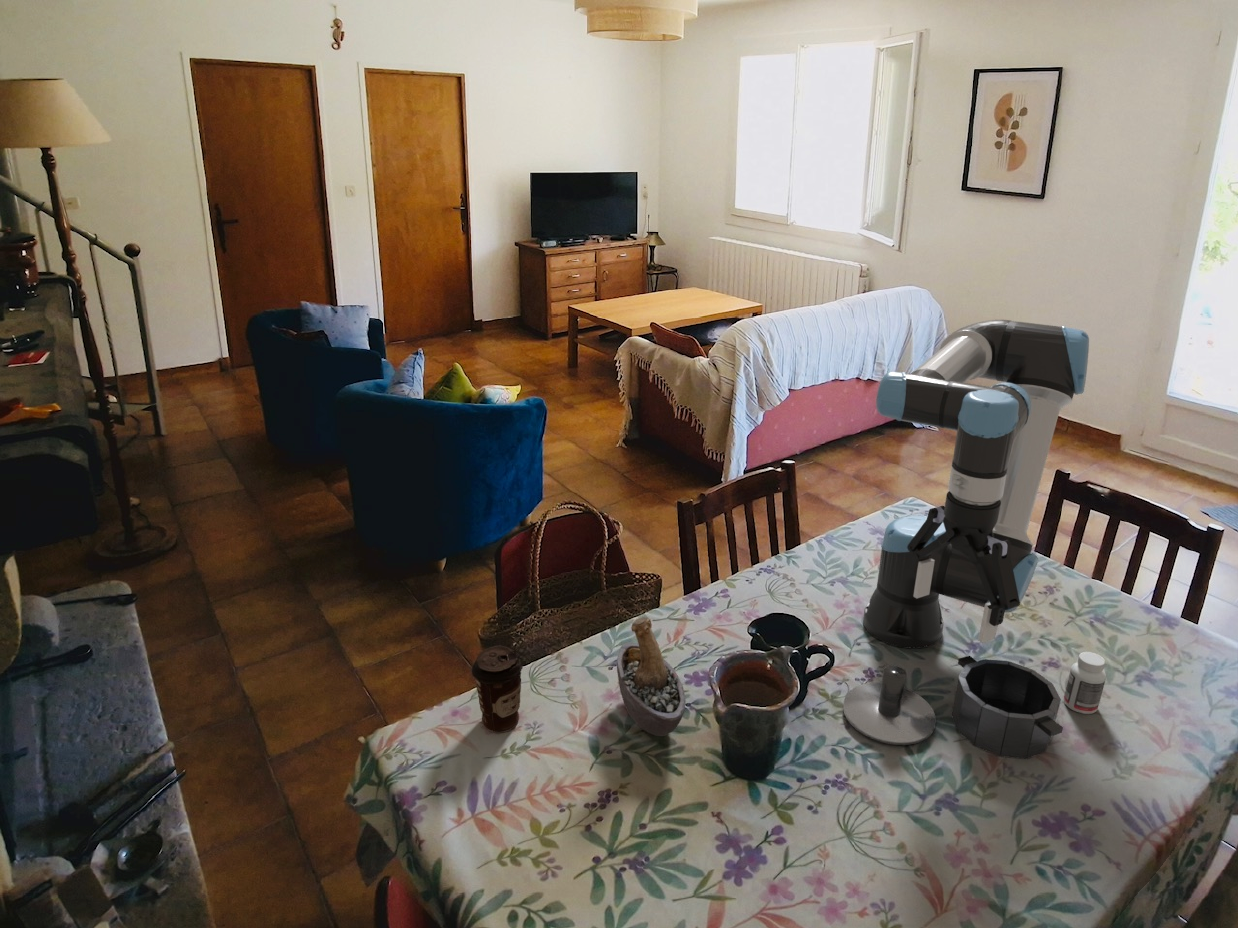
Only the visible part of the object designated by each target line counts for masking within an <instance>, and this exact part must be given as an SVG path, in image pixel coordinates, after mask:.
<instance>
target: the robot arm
mask: <svg viewBox="0 0 1238 928" xmlns="http://www.w3.org/2000/svg"><path fill="white" fill-rule="evenodd" d="M1089 351H1090V338H1089V335H1088V333H1087V332H1086V331H1084V330H1082V329H1077V328H1072V327H1071V328H1070V327H1066V326H1065V325H1061V326H1057V325H1050V324H1042V323H1041V324H1040V323H1033V322H1032V323H1031V322H1024V321H1014V320H1010V319H1009V320H1008V319H990V320H985V321H980V322H975V323H972V324H969V325H966V326H963V327H961V328H959V329H957V330H955V331H953V332H951V333H950V335H948V336H946V338H944V340H943V341H942V343H941V344H940V347H939V349H938V351H937V352H936V353H934V354H933V355H932V356H930V357H929V358H928V359H927V360H925V362H923V363H922V364H920V365H919V366H918V367H917V368H916V369H915V370H913V371H912V372H911V373H907V372H905V371H888V372H886V373H885V374H884V375H883V377H882V379H881V380H880V383H879V386H878V389H877V393H876V402H875V404H876V411H877V412H878V414H879V415H881V416H882V417H886V418H890V419H894V420H896V421H897V422H901V421H902V422H907V423H912V424H919V425H923V426H930V427H934V428H940V429H945V430H948V431H954V432H955V431H956V435H955V436H956V438H955V444H954V451H953V456H952V457H953V458H952V463H951V468H950V473H949V478H948V479H949V480H948V485H947V486H948V488H947V490H948V491H947V493H946V497H945V503H944V505H941V506H937V507H932V508H929V510H928V513H927V515H922V514H921V515H920V514H919V515H907V516H903V517H899V518H896V519H893V520H892V521H891V522H889V524H887V526H886V528H885V531H884V534H883V539H882V541H881V544H880V545H881V551H880V558H879V567H878V575H877V581H876V582H877V583H876V587H875V590H874V592H873V594H871V597H870V598H869V599H870V600H869V602H867V604H866V606H865V608H864V611H863V619H862V622H863V623H862V624H863V626H864V628H865V629H866V630H867V632H868V633H869V634H870V635H872V636H873V637H874V638H876V639H877V640H879V641H881V642H883V643H886V644H888V645H891V646H894V647H899V648H904V649H905V648H906V649H922V648H928V647H931V646H933V645H935V644H937V643H938V642H939V641H940V640H941V638H942V636H943V631H944V619H943V617H942V615H943V614H942V609H941V605H940V600H939V597H940V595H942V596H944V597H948V598H951V599H955V600H957V601H961V602H964V603H969V604H971V605H975V606H978V607H981V608H984V609H983V613H982V619H981V624H980V629H979V632H978V633H979V634H978V638H977V641H979V643H982V644H983V643H986V642H988V641H991V640H994V639H996V636H997V631H998V626H999V625H1001V624H1003V623H1004V622H1003V621H1004V617H1005V613H1013V612H1014V611H1016V610H1017V609H1018V607H1020V605H1021V603H1022V600H1023V599H1024V597H1025V595H1026V593H1027V591H1028V589H1029V587H1030V584H1031V582H1032V580H1033V577H1034V574H1035V571H1036V567H1037V565H1038V562H1039V557H1038V555H1036V554H1035V553H1034V552H1032V549H1033V546H1034V544H1033V542H1032V541H1031V539H1030V537H1029V536H1028V533H1027V532H1028V529H1029V526H1030V523H1031V522H1030V521H1031V519H1032V513H1033V510H1034V507H1035V503H1036V500H1037V496H1038V492H1039V489H1040V486H1041V485H1040V484H1041V481H1042V477H1043V475H1044V470H1045V466H1046V463H1047V459H1048V455H1049V452H1050V448H1051V443H1052V440H1053V437H1054V433H1055V430H1056V426H1057V421H1058V418H1059V414H1060V411H1061V410H1062V409H1063V408H1065V407H1067V406H1069V405H1070V404H1071V403H1072V402H1073V397H1074V395H1082V394H1084V392H1085V387H1086V386H1085V385H1086V380H1087V371H1088V363H1089V353H1090V352H1089ZM977 378H979V379H985V380H986V379H987V380H992V381H997V382H999V383H996V384H993V385H992V386H986V385H979V384H974V383H973V384H972V383H968V382H969V381H972V380H975V379H977ZM1000 382H1001V383H1000Z"/></svg>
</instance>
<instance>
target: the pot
mask: <svg viewBox="0 0 1238 928" xmlns="http://www.w3.org/2000/svg"><path fill="white" fill-rule="evenodd" d="M957 664H958V665H959V666H960V667H962V668H963V669H962V670H961V671H960V674H958V677H957V682H956V689H955V694H954V698H953V704H952V710H951V718H952V721H953V725H954V727H955V730H956V732H958V733H959V734H960V735H961V736H962V737H963V738H965V739H966V741H968V742H969V743H970V744H971V745H972V746H974V747H976V748H978V749H980V750H983V751H986V752H988V753H990V754H992V755H995V756H997V757H1001V758H1009V759H1011V758H1012V759H1022V760H1026V759H1027V760H1028V759H1030V758H1033V757H1035V756H1038V755H1039V756H1040V755H1041V754H1044V753H1046V751H1047V748H1048V747H1049V745H1050V742H1051V740H1052V737H1053V736H1056V735H1059V734H1062V733H1063V730H1064V727H1063V726H1062V725H1060V724H1059V723H1058V722H1057V720H1056V719H1057V717H1058V713H1059V709H1060V705H1061V697H1060V696H1059V695H1060V694H1059V693H1058V691H1057V689H1056V687H1055V686H1054V684H1053V683H1052V682H1051V681H1049V680H1048V679H1047V678H1045V677H1044V676H1043V675H1041V674H1040V673H1038V672H1037V671H1036V670H1034V669H1032V668H1030V667H1027V666H1025V665H1021V664H1017V663H1016V662H1012V661H1009V660H1000V659H999V660H998V659H985V658H984V659H980V660H976V659H975V658H973V657H972V656H971V655H966V656H963V657H960V658H958V660H957Z"/></svg>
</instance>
